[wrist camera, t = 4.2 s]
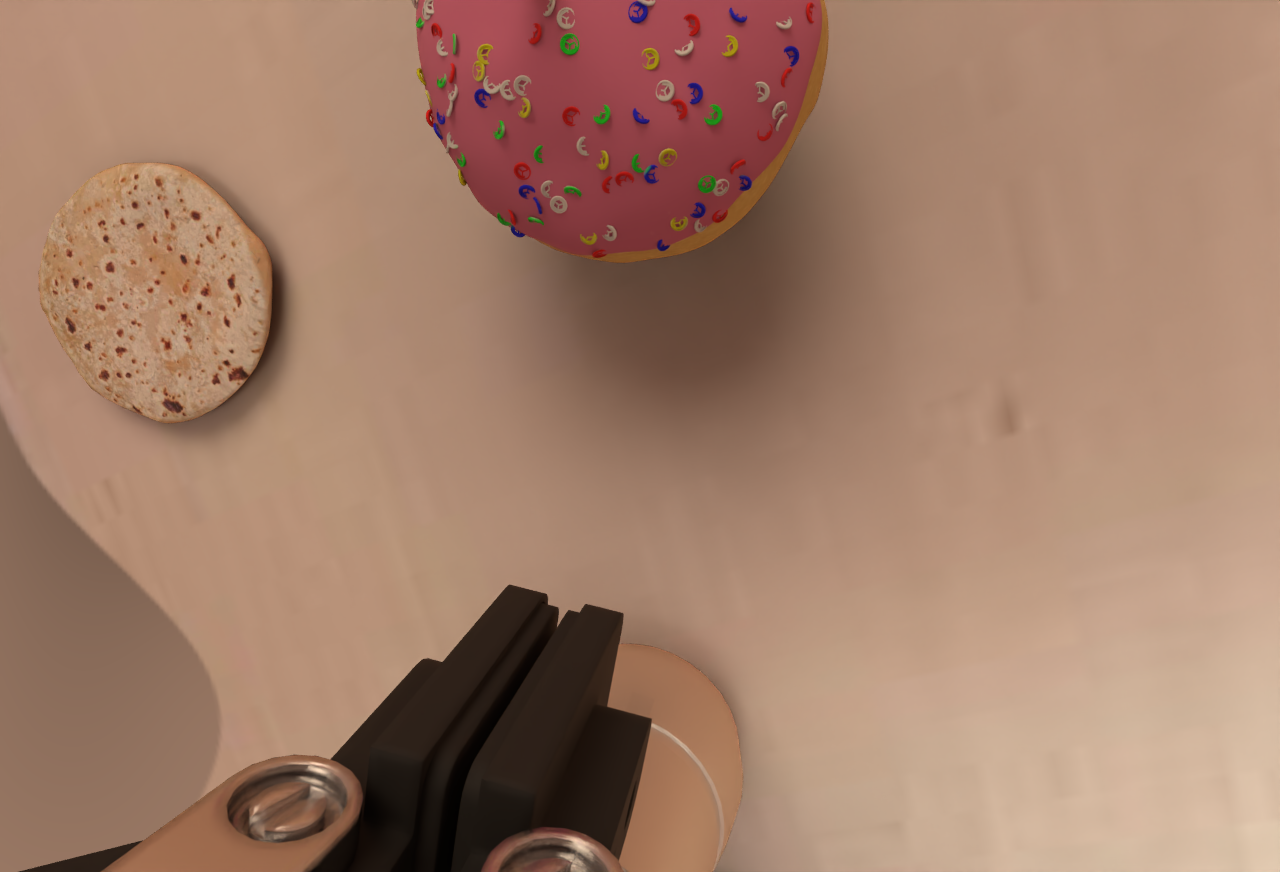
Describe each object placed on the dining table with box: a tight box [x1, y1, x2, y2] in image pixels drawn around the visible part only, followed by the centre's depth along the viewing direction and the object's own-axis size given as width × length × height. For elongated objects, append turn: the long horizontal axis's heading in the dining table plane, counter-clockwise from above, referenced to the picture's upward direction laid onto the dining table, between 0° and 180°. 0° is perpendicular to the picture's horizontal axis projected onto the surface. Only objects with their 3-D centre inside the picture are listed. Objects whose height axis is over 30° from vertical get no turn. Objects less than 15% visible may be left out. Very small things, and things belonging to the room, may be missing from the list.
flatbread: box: [39, 163, 273, 423], centre depth 25 cm, size 8×8×1 cm
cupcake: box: [412, 0, 828, 263], centre depth 16 cm, size 9×8×12 cm
